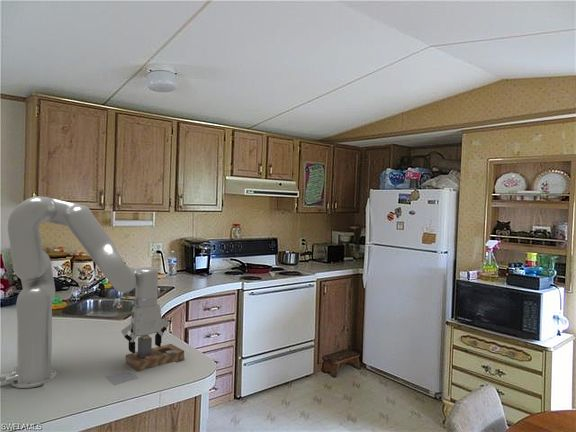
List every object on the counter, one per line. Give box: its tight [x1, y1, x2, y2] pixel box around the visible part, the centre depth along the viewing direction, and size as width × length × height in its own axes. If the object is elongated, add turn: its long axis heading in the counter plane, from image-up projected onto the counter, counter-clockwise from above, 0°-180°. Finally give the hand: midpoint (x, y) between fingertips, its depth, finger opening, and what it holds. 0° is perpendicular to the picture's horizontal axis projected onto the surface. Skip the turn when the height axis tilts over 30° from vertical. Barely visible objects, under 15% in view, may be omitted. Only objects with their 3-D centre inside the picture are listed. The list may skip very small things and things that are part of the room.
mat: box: [104, 370, 139, 386], centre depth 133 cm, size 8×8×1 cm
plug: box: [137, 334, 153, 359], centre depth 145 cm, size 4×4×11 cm
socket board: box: [124, 343, 185, 372], centre depth 148 cm, size 18×10×4 cm, turn 135°
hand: (145, 348), depth 145 cm, fingers open, 9 cm apart
